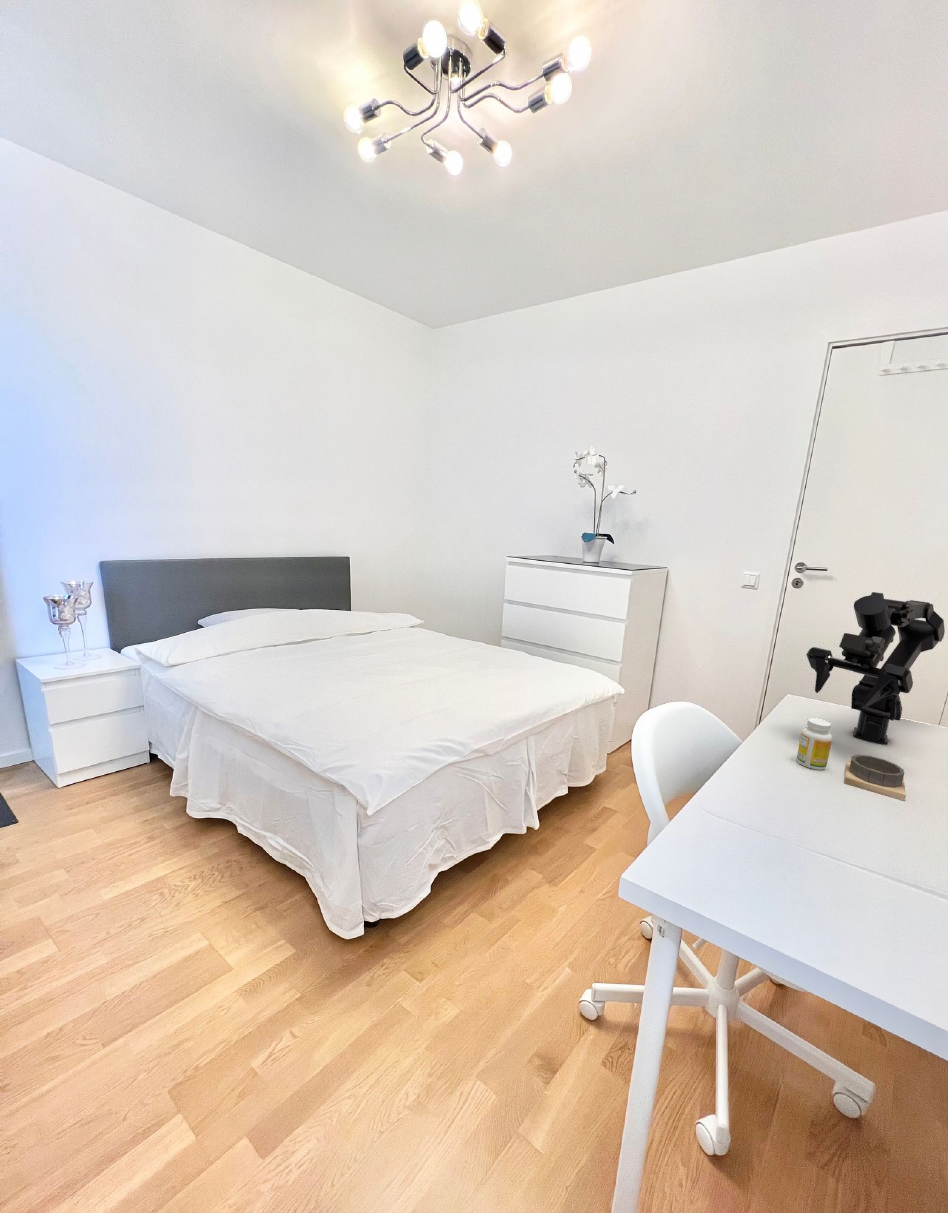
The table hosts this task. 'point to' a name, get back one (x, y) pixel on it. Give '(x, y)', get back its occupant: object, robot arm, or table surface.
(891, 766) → the ring holder
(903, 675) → the robot arm
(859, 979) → the table surface
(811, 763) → the supplement bottle
